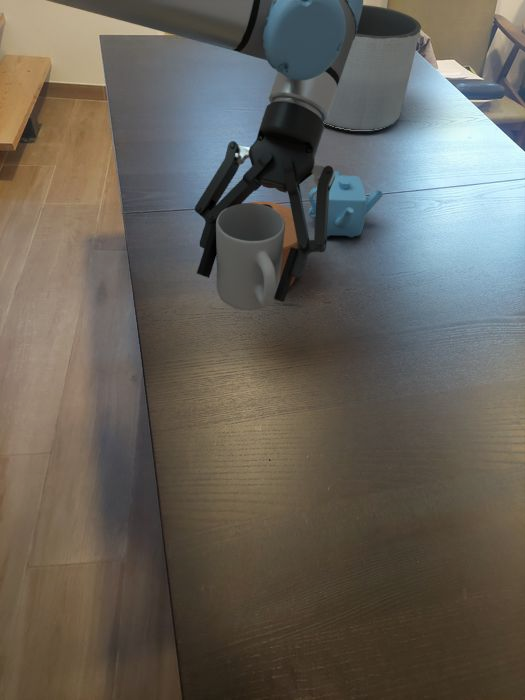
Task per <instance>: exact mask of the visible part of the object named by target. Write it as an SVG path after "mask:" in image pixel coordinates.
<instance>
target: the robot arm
mask: <svg viewBox="0 0 525 700" xmlns="http://www.w3.org/2000/svg"><path fill="white" fill-rule="evenodd" d="M46 1H47V2H51V3H55V4H57V5H62V6H64V7H65V6H66V7H69V8H73V9H77V10H81V11H84V12H87V13H92V14H94V15H95V14H96V15H99V16H103V17H106V18H110V19H115V20H118V21H120V22H121V21H122V22H125V23H129V24H132V25H137V26H141V27H144V28H148V29H152V30H156V31H159V32H162V33H167V34H169V35H173V36H178V37H182V38H185V39H189V40H191V41H196V42H199V43H204V44H207V45H211V46H214V47H218V48H222V49H226V50H228V51H229V50H230V51H234V52H237V53H239V54H243V55H246V56H250V57H253V58H257V59H261V60H264V61H267V63H268V65H269V66H270V67H271V68H272V69H274V70H275V71H276V72H277V73H276V75H275V78H274V82H273V84H272V88H271V91H270V94H269V97H268V101H269V104H267V105H266V106H265V110H264V113H263V116H262V119H261V122H260V126H259V129H258V132H257V137H256V139H255V141H254V142H253V143H252V144H251V145H250V146H246V145H245V146H244V145H239V144H238V143H237V142H236V141H235V140H231V141H230V142H229V143H227V147H226V153H225V156H224V159H223V161H222V162H221V164H220V165H219V167H218V168H217V171H215V174H214V175H213V177H212V178H211V180H210V182H209V183H208V185H207V187H206V188H205V190H204V192H203V193H202V195H201V197H200V198H199V199H198V201H197V203H196V205H195V206H194V211H195V212H196V213H197V214H198V215H199V216H200V217H202V218H203V219H204V222H205V223H204V227H203V230H202V233H201V237H200V240H199V247H200V248H202V249H203V252H202V255H201V257H200V261H199V265H198V267H197V270H196V274H197V275H200V276H202V277H205V278H209V279H210V277H211V273H212V270H213V267H214V264H215V261H216V259H217V253H216V221H217V217H218V215H219V214H220V213H221V212H222V211H223V210H224V209H226V208H228V207H230V206H233V205H236V204H242V203H244V202H245V201H246V200H247V199H248V198H249V196H251V194H252V193H254V192H255V191H258V190H259V189H260V188H261V187H263V188H267V189H276V190H277V191H279V192H281V193H284V194H286V193H287V195H288V199H289V205H290V209H291V210H292V215H293V221H294V226H295V231H296V237H297V242H298V249H296V248H293V247H291V248H290V251H289V254H288V257H287V260H286V263H285V266H284V269H283V272H282V276H281V279H280V282H279V285H278V288H277V291H276V294H275V297H274V299H275V301H276V300H277V301H279V302H282V303H285V301H286V298H287V295H288V292H289V289H290V287H291V286H290V283H291V280H292V277H295V279H299V278H301V277H302V274H303V272H304V269H305V266H306V263H307V260H308V257H309V255H311V254H312V253H324V252H325V251H326V250H327V241H328V237H327V225H328V207H329V191H330V189H331V187H332V184H333V182H334V179H335V174H334V168H333V167H332V166H331V165H326V166H322V165H319V164H316V163H315V162H316V161H315V158H316V155H317V151H318V148H319V145H320V143H321V140H322V136H323V133H324V130H325V125H324V124H323V122H324V121H326V120H327V118H328V115H329V112H330V109H331V106H332V103H333V100H334V97H335V94H336V91H337V86H338V83H339V81H340V78H341V75H342V72H343V69H344V66H345V63H346V60H347V57H348V54H349V51H350V49H351V46H352V43H353V40H354V39H355V36H356V34H357V29H358V24H359V20H360V17H361V12H362V7H363V5H364V0H46ZM247 159H249V161H250V163H251V164H250V165H251V167H249V168H248V170H247V171H246V172H245V173H243V176H242V178H241V180H239V181H238V182H237V183H236V184H235V185H234V187H232V188H231V189H230V190H229V191H228V192H227V193H226V194H225V195H224V197H222V196H223V194H224V193H225V191H226V190H227V189H228V187H229V185H230V184H231V182H232V180H233V178H234V177H235V175H236V174H237V172H238V170H239V168H240V165H241V166H242V165H243V164H244V163H245V162H246V160H247ZM312 175H313V176H314V183H315V185H316V187H317V193H316V194H317V196H316V195H315V199H316V215H315V217H314V234H313V235H314V237H313V239H310V235H309V231H308V230H309V229H308V225H307V220H306V215H305V214H306V213H305V209H304V203H303V196H302V191H301V184H303V182H304V181H306V180H307V179H308V178H309V177H311V176H312ZM289 286H290V287H289Z"/></svg>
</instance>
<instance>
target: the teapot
mask: <svg viewBox="0 0 525 700" xmlns="http://www.w3.org/2000/svg"><path fill="white" fill-rule="evenodd" d="M333 171H334V170H333ZM334 174H335V179H334V182H333V184H332V187H331V189H330V191H329V207H328V225H327V238H328V237H330V236H346V237H348V238H354V237H355V236H356V237H357V236H360V235H361V234H362V232H363V228H364V224H365V219H366V215H367V214H368V213H369V212H370V211H371V210H372V209H373V207H374V206H375V205H376V204H377V203H378V201H379V200H380V199H381V198H382V197H383V196H384V192H383V191H382V190H379V189H376V190H375V191H373V192H372V193H370V194H369V195H366V191H365V187H364V185H363V182H362V180H361V177H360V176H358V175H343V174H342V173H341V171H339V170H336V171H334ZM341 174H342V175H341ZM315 194H316V195H315ZM314 195H315V197H316V196H317V186H316V187H313V188H311V190H310V191H309V193H308V200H309V203H310V206H311V207H309V209H308V211H307V212H308V213H307V214H308V216H309V217H310V218H315V215H316V198H315V199H314ZM313 211H314V212H313Z"/></svg>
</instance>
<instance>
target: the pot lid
mask: <svg viewBox="0 0 525 700" xmlns="http://www.w3.org/2000/svg"><path fill="white" fill-rule="evenodd" d="M249 203H256V204H261V205H265V206H268V207H270V208H272V209H274V210H276V211H277V212H278V213H279V214H280V215H281V216H282V217H283V219H284V222H285V233H284V243H283V250H284V249H288V248H290V247H292V246H294V245H296V244H297V243H298V242H297V237H296V231H295V226H294V221H293V215H292V210H291V207H288V206H286V205H283V204H281V203H278V202H277V203H276V202H271V201H251V202H249Z"/></svg>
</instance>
